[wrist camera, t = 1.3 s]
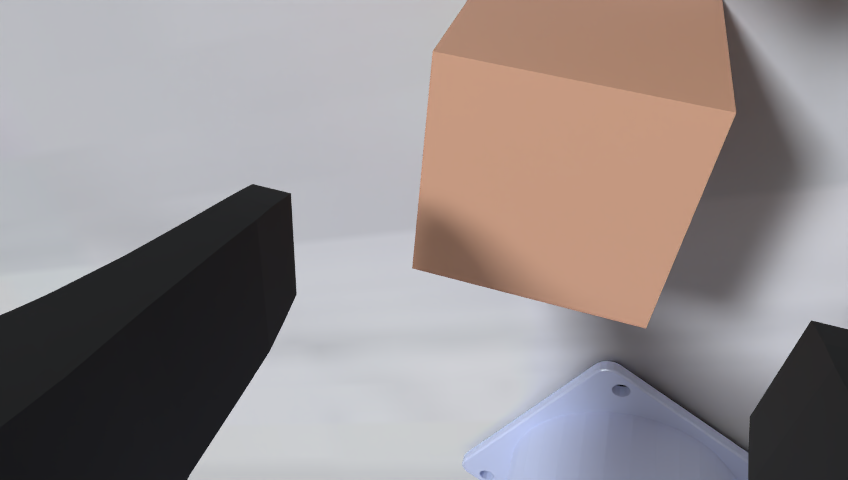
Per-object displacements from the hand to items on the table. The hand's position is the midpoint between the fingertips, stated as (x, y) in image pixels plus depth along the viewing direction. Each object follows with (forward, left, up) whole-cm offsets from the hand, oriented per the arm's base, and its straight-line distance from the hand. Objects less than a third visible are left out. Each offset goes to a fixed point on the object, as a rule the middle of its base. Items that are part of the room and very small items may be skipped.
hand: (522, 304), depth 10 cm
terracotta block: (0, 0, -8) cm, 8 cm away
